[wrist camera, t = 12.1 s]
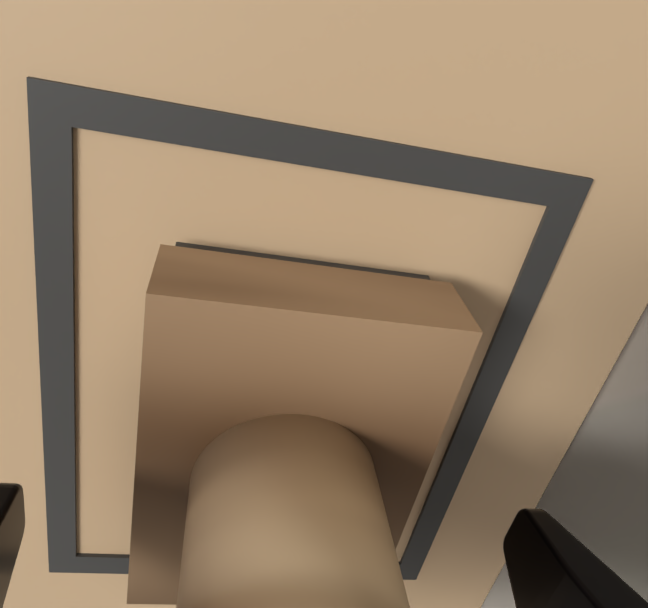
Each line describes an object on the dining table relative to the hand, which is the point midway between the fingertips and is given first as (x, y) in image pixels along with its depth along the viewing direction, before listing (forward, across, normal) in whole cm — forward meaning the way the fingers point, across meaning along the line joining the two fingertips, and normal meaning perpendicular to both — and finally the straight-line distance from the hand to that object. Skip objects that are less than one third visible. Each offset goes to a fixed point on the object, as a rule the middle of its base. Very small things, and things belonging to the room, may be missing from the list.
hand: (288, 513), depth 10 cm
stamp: (+3, 0, 0) cm, 3 cm away
